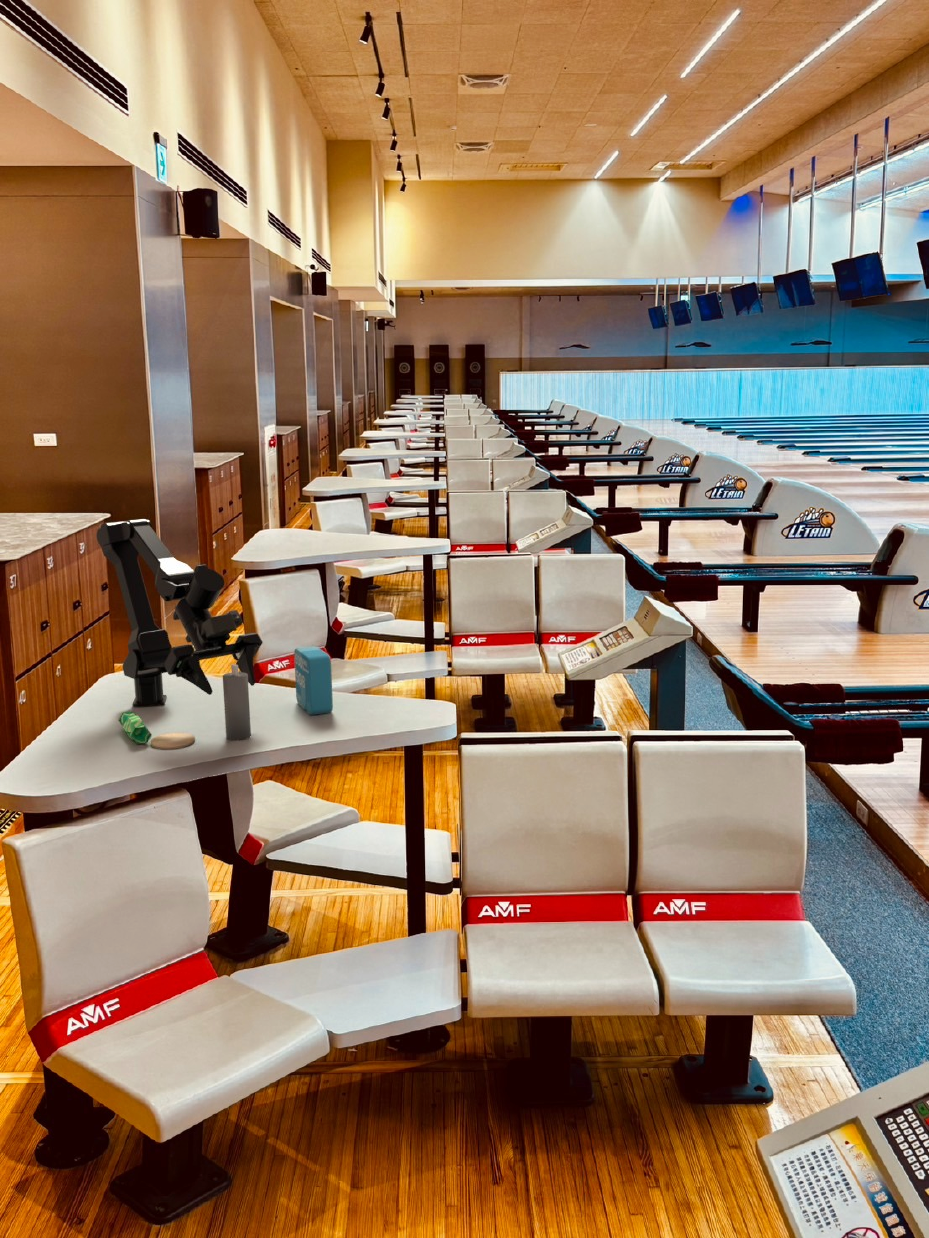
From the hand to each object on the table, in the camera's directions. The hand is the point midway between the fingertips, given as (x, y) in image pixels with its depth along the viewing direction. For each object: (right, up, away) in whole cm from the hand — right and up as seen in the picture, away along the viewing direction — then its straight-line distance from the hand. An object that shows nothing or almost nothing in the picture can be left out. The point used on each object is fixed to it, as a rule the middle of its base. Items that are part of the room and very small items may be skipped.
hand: (232, 688), depth 213 cm
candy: (-19, -9, +2) cm, 21 cm away
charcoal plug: (+1, -9, +1) cm, 9 cm away
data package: (+13, -5, +20) cm, 24 cm away
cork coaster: (-11, -10, -2) cm, 15 cm away
